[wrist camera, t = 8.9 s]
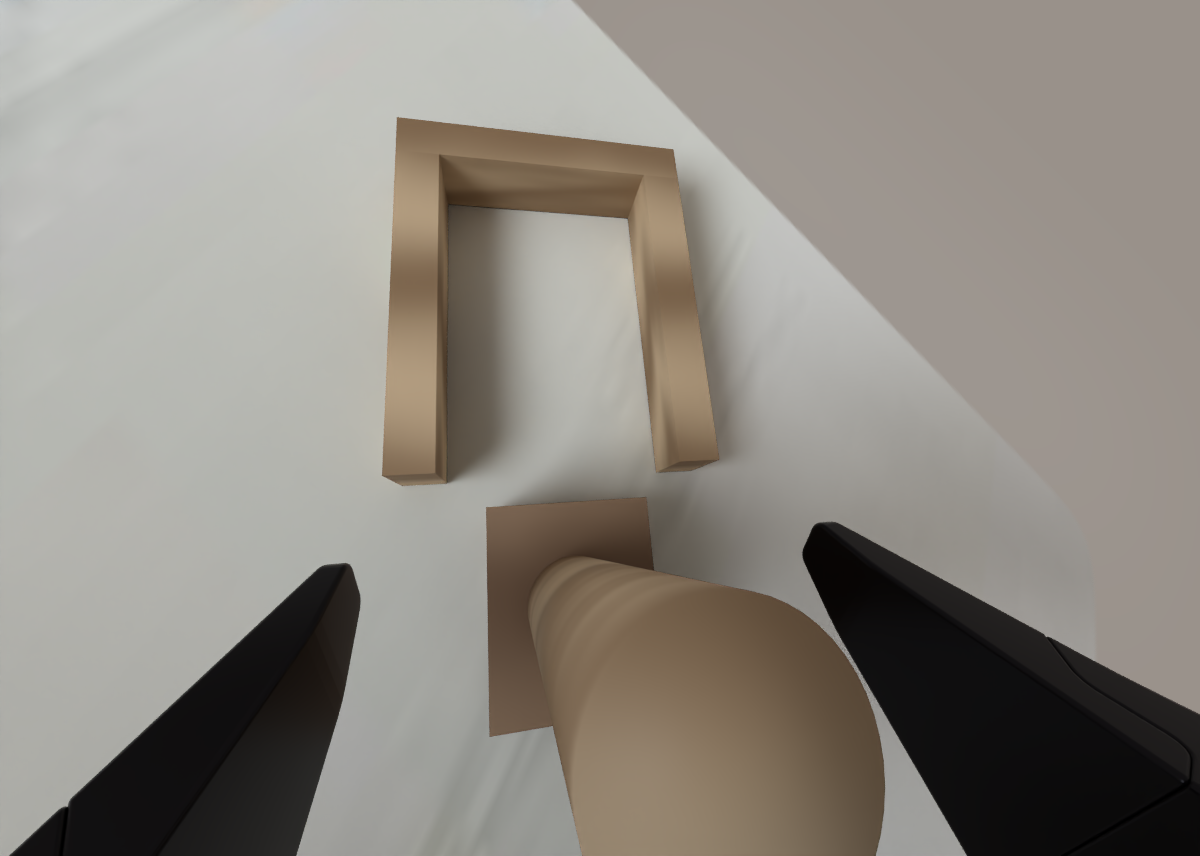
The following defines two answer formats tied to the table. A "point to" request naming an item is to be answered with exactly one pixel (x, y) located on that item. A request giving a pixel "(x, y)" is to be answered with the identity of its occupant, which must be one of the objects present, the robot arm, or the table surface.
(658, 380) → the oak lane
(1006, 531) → the table surface
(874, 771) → the dowel block
